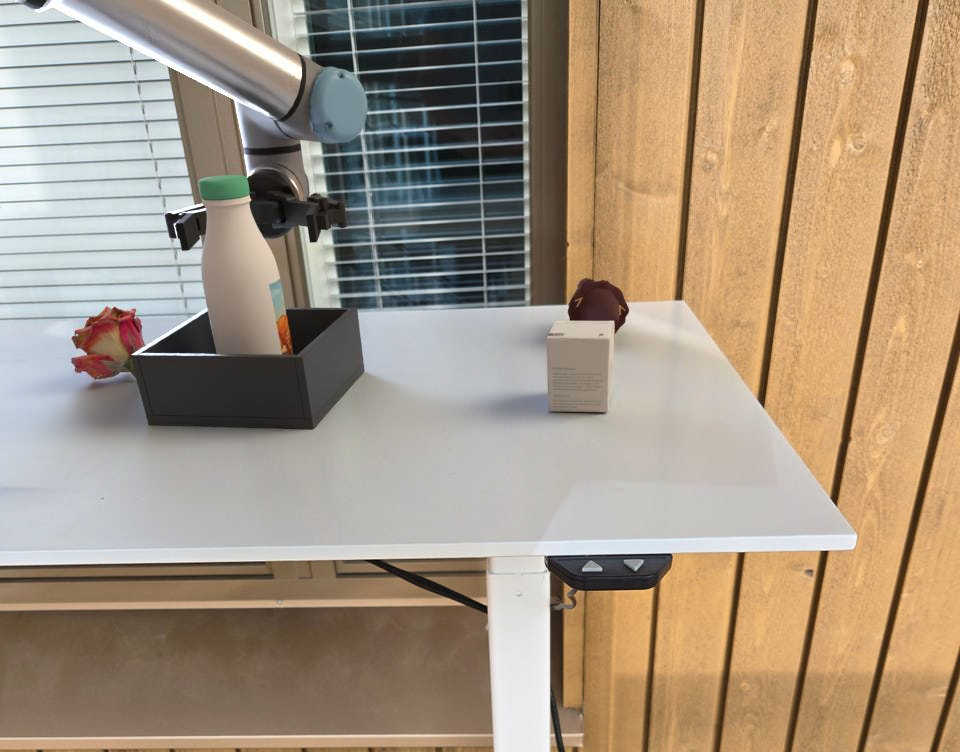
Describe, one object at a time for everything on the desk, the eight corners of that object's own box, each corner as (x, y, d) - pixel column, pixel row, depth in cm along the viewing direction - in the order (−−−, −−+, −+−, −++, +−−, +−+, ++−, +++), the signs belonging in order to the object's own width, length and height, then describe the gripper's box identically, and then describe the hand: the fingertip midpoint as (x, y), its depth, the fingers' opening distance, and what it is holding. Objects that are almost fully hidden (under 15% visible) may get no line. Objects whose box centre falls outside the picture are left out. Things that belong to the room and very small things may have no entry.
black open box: (148, 424, 89) (129, 355, 85) (220, 369, 103) (207, 307, 99) (313, 429, 86) (302, 357, 82) (364, 371, 100) (357, 307, 96)
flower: (184, 352, 103) (139, 293, 102) (143, 360, 95) (93, 295, 93) (129, 400, 107) (85, 343, 105) (85, 411, 99) (36, 350, 97)
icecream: (655, 294, 98) (614, 277, 111) (592, 282, 96) (558, 266, 109) (638, 358, 101) (600, 334, 114) (577, 347, 99) (545, 325, 112)
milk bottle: (275, 402, 90) (235, 183, 79) (210, 396, 92) (162, 183, 81) (310, 377, 96) (278, 171, 85) (249, 373, 98) (209, 171, 87)
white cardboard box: (613, 392, 91) (616, 319, 87) (608, 414, 86) (610, 337, 82) (554, 391, 92) (554, 318, 88) (546, 412, 87) (545, 336, 83)
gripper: (372, 227, 114) (368, 262, 96) (177, 240, 113) (137, 277, 95) (366, 161, 110) (360, 186, 92) (163, 174, 109) (118, 201, 91)
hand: (247, 233), depth 94 cm, fingers open, 13 cm apart
